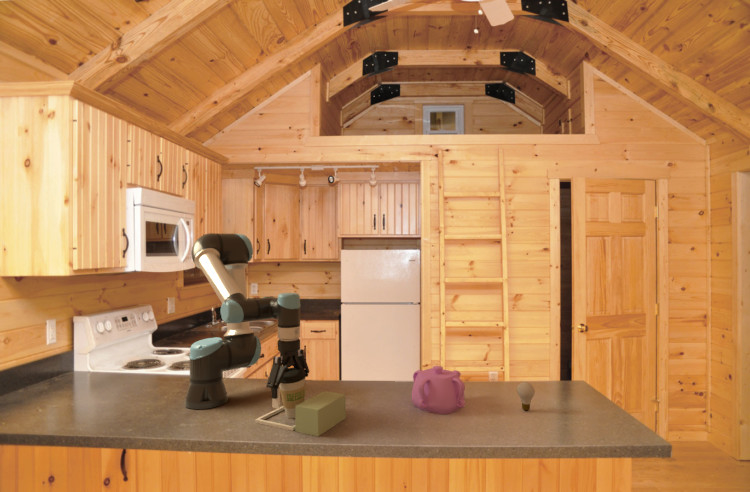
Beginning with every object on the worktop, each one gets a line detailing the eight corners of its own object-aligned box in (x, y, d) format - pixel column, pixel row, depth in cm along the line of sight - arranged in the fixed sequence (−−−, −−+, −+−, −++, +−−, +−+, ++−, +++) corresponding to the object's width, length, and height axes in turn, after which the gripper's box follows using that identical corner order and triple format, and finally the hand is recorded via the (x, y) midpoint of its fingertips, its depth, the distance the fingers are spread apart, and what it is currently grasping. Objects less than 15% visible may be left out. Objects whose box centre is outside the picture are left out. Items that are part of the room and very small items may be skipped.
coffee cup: (303, 421, 148) (299, 378, 146) (275, 420, 150) (271, 377, 148) (313, 407, 157) (309, 366, 156) (287, 406, 159) (283, 366, 158)
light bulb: (534, 408, 158) (534, 380, 158) (535, 414, 152) (534, 385, 153) (517, 407, 160) (517, 379, 160) (517, 412, 154) (516, 383, 154)
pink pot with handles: (412, 415, 153) (412, 373, 153) (411, 395, 174) (410, 358, 174) (468, 416, 152) (468, 374, 152) (460, 396, 173) (460, 359, 173)
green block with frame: (255, 422, 147) (254, 398, 147) (286, 407, 162) (286, 384, 162) (318, 436, 136) (317, 410, 136) (345, 418, 150) (345, 394, 150)
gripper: (273, 346, 138) (273, 415, 138) (318, 333, 161) (319, 392, 160) (255, 344, 142) (255, 411, 141) (301, 331, 164) (302, 389, 164)
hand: (289, 401), depth 151 cm, fingers open, 13 cm apart
